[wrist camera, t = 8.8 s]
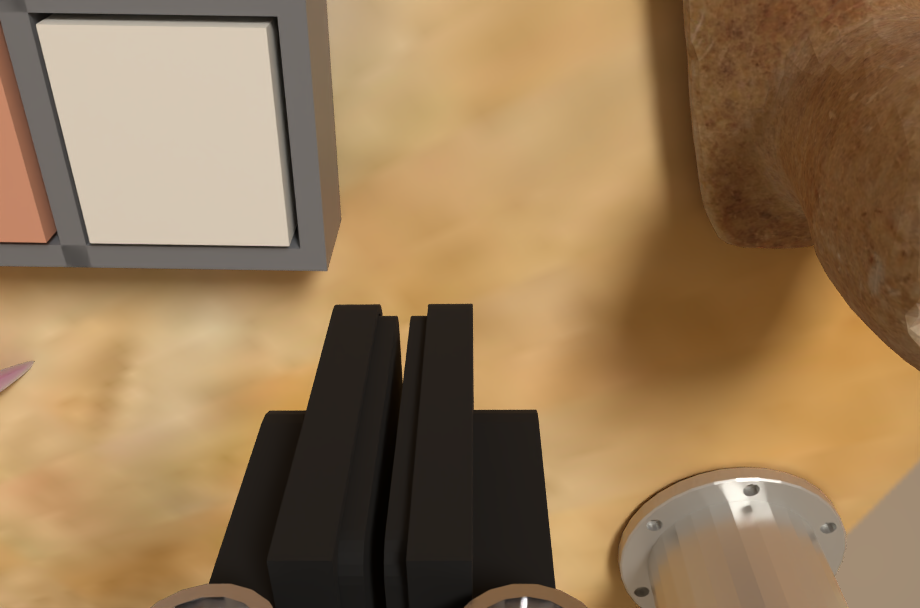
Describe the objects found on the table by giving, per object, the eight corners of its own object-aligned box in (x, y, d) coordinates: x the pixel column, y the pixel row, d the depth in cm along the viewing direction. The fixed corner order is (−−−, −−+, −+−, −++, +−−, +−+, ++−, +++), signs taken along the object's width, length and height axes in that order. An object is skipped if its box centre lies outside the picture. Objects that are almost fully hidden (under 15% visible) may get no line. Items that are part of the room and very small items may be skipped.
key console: (341, 220, 38) (327, 271, 34) (-106, 213, 38) (-170, 263, 34) (323, -41, 32) (304, -14, 28) (-206, -49, 32) (-295, -24, 28)
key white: (299, 217, 35) (289, 246, 33) (112, 214, 35) (89, 243, 33) (279, 9, 31) (266, 28, 29) (65, 6, 31) (36, 24, 29)
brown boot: (960, 202, 38) (1212, 426, 25) (687, 247, 39) (795, 481, 26) (1011, -187, 30) (1418, -149, 17) (666, -114, 31) (805, -29, 18)
